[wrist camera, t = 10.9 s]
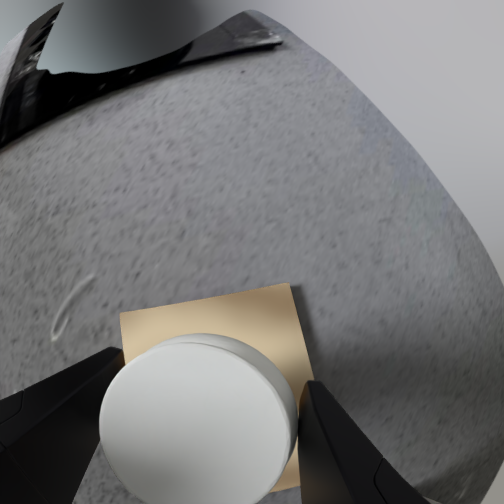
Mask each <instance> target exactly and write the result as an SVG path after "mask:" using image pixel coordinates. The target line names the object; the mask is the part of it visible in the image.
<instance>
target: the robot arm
mask: <svg viewBox="0 0 504 504" xmlns="http://www.w3.org/2000/svg"><path fill="white" fill-rule="evenodd" d="M124 366H125V358H124V352H123V350H122V349H119V348H116V347H108V348H106V349H104V350H102V351H100V352H98V353H96V354H94V355H92V356H90V357H88V358H86V359H84V360H82V361H80V362H78V363H76V364H74V365H72V366H70V367H68V368H66V369H64V370H62V371H60V372H58V373H56V374H54V375H52V376H50V377H48V378H46V379H44V380H42V381H40V382H38V383H36V384H34V385H32V386H30V387H28V388H26V389H24V391H23V390H21V391H19V392H17V393H15V394H13V395H11V396H9V397H6V398H4V399H2V400H0V504H72V502H73V500H74V497H75V495H76V493H77V490H78V488H79V486H80V483H81V481H82V479H83V477H84V474H85V472H86V470H87V468H88V465H89V463H90V461H91V459H92V456H93V454H94V452H95V450H96V448H97V446H98V443H99V441H100V431H99V418H100V411H101V405H102V402H103V398H104V396H105V394H106V391H107V389H108V387H109V385H110V384H111V382H112V380H113V379H114V378H115V376H116V375H117V374H118V373H119V372H120V370H121V369H122V368H123V367H124ZM297 450H298V463H299V474H300V486H301V499H302V504H431V503H430V502H429V501H428V500H426V499H425V498H424V497H423V496H422V495H421V494H420V493H418V492H417V491H416V490H415V489H414V488H413V487H412V486H411V485H410V484H409V483H408V482H407V481H406V480H404V479H403V478H402V477H401V476H400V474H399V473H398V472H397V471H396V470H395V469H394V468H393V467H392V466H391V465H390V463H389V462H388V461H387V460H386V459H385V458H383V455H382V454H381V453H380V452H379V451H378V450H377V448H376V447H375V446H374V445H373V444H372V442H371V441H370V440H369V439H368V438H367V437H366V435H365V434H364V433H363V432H362V431H361V429H360V428H359V427H358V426H357V425H356V423H355V422H354V421H353V420H352V419H351V417H350V416H349V415H348V414H347V413H346V411H345V410H344V409H343V408H342V407H341V405H340V404H339V403H338V402H337V400H336V399H335V398H334V397H333V396H332V394H331V393H330V392H329V391H328V390H327V388H326V387H325V386H324V385H323V383H322V382H321V381H316V380H307V381H306V383H305V385H304V388H303V391H302V394H301V397H300V401H299V426H298V444H297Z"/></svg>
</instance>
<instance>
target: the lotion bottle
mask: <svg viewBox="0 0 504 504" xmlns="http://www.w3.org/2000/svg"><path fill="white" fill-rule="evenodd" d="M423 497H424V496H423ZM424 498H425V499H426V500H428V501H429V502H430V503H431V504H441V503H439V502H436V501H434V500H431V499H429V498H426V497H424Z"/></svg>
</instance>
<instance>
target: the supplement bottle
mask: <svg viewBox="0 0 504 504" xmlns="http://www.w3.org/2000/svg"><path fill="white" fill-rule="evenodd" d="M298 426H299V418H298V410H297V405H296V401H295V398H294V395H293V392H292V390H291V388H290V386H289V384H288V382H287V381H286V379H285V378H284V376H283V375H282V373H281V372H280V370H279V369H278V368H277V367H276V366H275V364H274V363H273V362H271V361H270V360H269V359H268V358H267V357H266V356H265V355H263V354H262V353H261V352H259V351H258V350H257V349H255V348H253V347H252V346H250V345H248V344H246V343H244V342H241V341H239V340H237V339H234V338H231V337H227V336H223V335H217V334H209V333H195V334H185V335H180V336H176V337H173V338H170V339H167V340H165V341H162V342H161V343H159V344H157V345H155V346H153V347H152V348H150V349H149V350H147V351H146V352H145V353H143V354H141V355H139V356H137V357H136V358H134V359H133V360H132V361H130V362H129V363H128V364H127V365H125V366H124V367H123V368H122V369H121V370H120V372H119V373H118V374H117V375H116V376H115V378H114V379H113V380H112V382H111V384H110V385H109V387H108V389H107V391H106V394H105V396H104V398H103V402H102V405H101V411H100V418H99V431H100V439H101V443H102V447H103V451H104V454H105V457H106V459H107V461H108V463H109V465H110V467H111V469H112V471H113V472H114V474H115V475H116V477H117V478H118V479H119V480H120V482H121V483H122V484H123V485H124V486H125V488H126V489H127V490H128V491H129V492H131V493H132V494H133V495H134V496H135V497H137V498H138V499H139V500H140V501H142V502H143V503H145V504H256V503H258V502H259V501H260V500H261V499H263V498H264V497H265V496H266V495H267V494H268V493H269V492H270V491H271V490H272V489H273V487H274V486H275V485H276V483H277V482H278V480H279V479H280V477H281V476H282V474H283V471H284V469H285V466H286V465H287V463H288V461H289V460H290V458H291V456H292V454H293V451H294V449H295V445H296V441H297V436H298Z"/></svg>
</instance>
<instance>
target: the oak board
mask: <svg viewBox="0 0 504 504" xmlns="http://www.w3.org/2000/svg"><path fill="white" fill-rule="evenodd" d="M120 323H121V333H122V341H123V349H124V357H125V364H126V365H127V364H128V363H129V362H130V361H132V360H133V359H134V358H136V357H137V356H139V355H141V354H143V353H145V352H146V351H147V350H149V349H150V348H152V347H153V346H155V345H157V344H159V343H161V342H162V341H165V340H167V339H170V338H173V337H176V336H180V335H185V334H195V333H209V334H217V335H223V336H227V337H231V338H234V339H237V340H239V341H241V342H244V343H246V344H248V345H250V346H252V347H253V348H255V349H257V350H258V351H259V352H261V353H262V354H263V355H265V356H266V357H267V358H268V359H269V360H270V361H271V362H273V363H274V364H275V366H276V367H277V368H278V369H279V370H280V372H281V373H282V375H283V376H284V378H285V379H286V381H287V382H288V384H289V386H290V388H291V390H292V392H293V395H294V398H295V401H296V405H297V410H298V418H299V401H300V397H301V394H302V391H303V388H304V385H305V383H306V381H307V380H314V377H313V373H312V369H311V365H310V361H309V357H308V353H307V349H306V346H305V342H304V338H303V334H302V330H301V326H300V323H299V319H298V315H297V311H296V307H295V304H294V300H293V296H292V293H291V289H290V285H289V282H287V283H283V284H278V285H273V286H268V287H263V288H258V289H253V290H248V291H243V292H237V293H232V294H227V295H222V296H216V297H211V298H205V299H200V300H194V301H189V302H183V303H177V304H172V305H166V306H160V307H154V308H148V309H142V310H136V311H130V312H123V313H120ZM297 444H298V436H297V441H296V445H295V449H294V451H293V454H292V456H291V458H290V460H289V461H288V463H287V465H286V466H285V469H284V471H283V474H282V476H281V477H280V479H279V480H278V482H277V483H276V485H275V486H274V487H273V489H272V490H271V491H270V492H269V493H271V492H275V491H280V490H284V489H288V488H292V487H296V486H299V485H300V474H299V463H298V450H297Z"/></svg>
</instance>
